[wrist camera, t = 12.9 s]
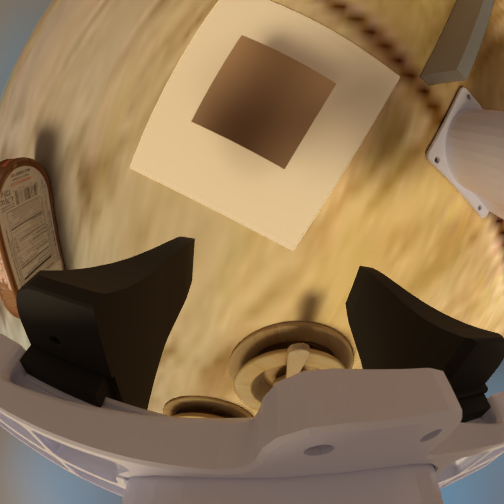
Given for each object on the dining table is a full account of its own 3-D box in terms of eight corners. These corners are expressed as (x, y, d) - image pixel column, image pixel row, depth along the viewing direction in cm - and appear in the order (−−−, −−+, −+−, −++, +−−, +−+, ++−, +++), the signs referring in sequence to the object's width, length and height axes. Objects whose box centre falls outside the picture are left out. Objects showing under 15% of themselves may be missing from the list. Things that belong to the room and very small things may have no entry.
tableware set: (258, 273, 23) (255, 317, 18) (388, 361, 28) (402, 399, 23) (134, 402, 34) (123, 433, 29) (239, 447, 39) (237, 476, 33)
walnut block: (314, 96, 16) (336, 83, 11) (278, 156, 18) (284, 169, 13) (249, 62, 15) (241, 35, 10) (213, 123, 17) (191, 121, 12)
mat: (398, 77, 15) (400, 77, 15) (292, 249, 21) (293, 251, 21) (229, -12, 13) (229, -14, 12) (131, 167, 19) (129, 168, 19)
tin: (32, 151, 18) (-33, 173, 11) (53, 147, 18) (-16, 168, 11) (56, 288, 25) (14, 335, 17) (77, 292, 25) (34, 343, 17)
